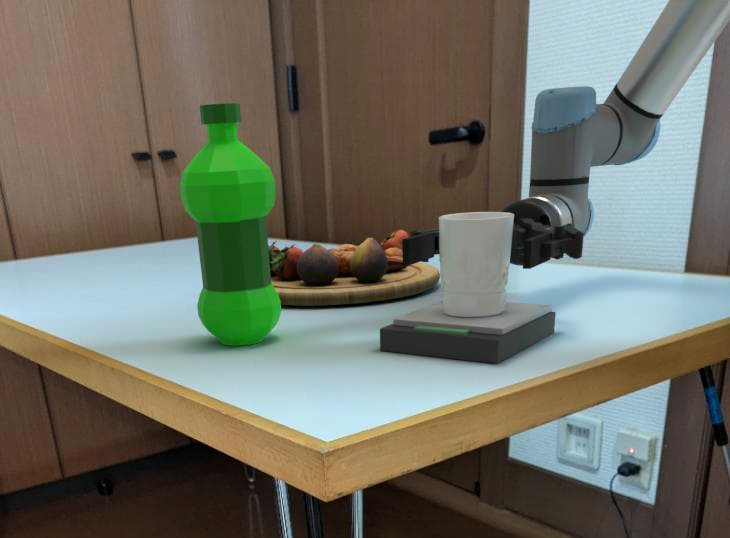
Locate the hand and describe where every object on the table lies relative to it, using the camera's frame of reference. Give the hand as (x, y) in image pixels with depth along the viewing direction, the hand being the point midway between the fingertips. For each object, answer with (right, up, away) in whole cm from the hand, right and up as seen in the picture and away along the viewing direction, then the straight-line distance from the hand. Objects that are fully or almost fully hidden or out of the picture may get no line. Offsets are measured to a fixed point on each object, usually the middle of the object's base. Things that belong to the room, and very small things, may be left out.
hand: (463, 253), depth 84 cm
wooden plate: (-13, +9, +42) cm, 45 cm away
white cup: (+2, -5, +6) cm, 8 cm away
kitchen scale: (+2, -8, +6) cm, 10 cm away
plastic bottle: (-24, -6, +13) cm, 28 cm away
